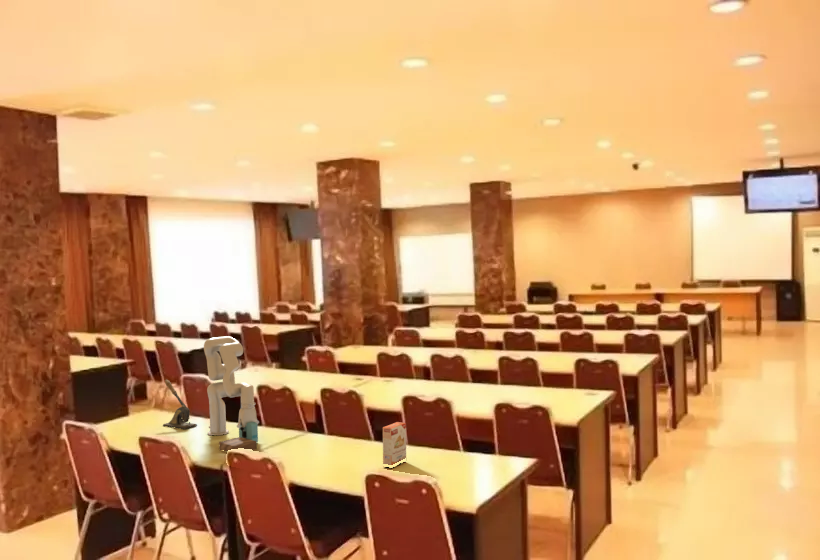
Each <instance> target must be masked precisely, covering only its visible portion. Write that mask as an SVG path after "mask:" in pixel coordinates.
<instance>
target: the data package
mask: <svg viewBox="0 0 820 560" xmlns="http://www.w3.org/2000/svg"><path fill="white" fill-rule="evenodd" d="M258 425H259V424H257V423H256V422H251V423H247V426H246V429H245V431H246V439H249V440H253V441H256V444H257V443H258V441H259V433H258V432H259V430H258V429H259V428H258ZM240 426H241V427H242V425H240ZM238 437H242V431H241V430H240V429H239V428H238ZM242 438H243V437H242Z"/></svg>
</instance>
